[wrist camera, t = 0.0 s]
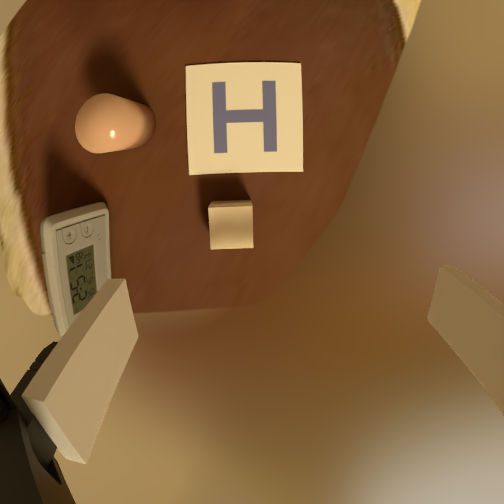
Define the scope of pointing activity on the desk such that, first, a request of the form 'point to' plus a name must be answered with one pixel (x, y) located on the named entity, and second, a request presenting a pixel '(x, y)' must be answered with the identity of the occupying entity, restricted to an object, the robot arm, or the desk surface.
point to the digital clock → (75, 259)
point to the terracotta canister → (113, 124)
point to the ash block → (231, 224)
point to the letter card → (244, 117)
